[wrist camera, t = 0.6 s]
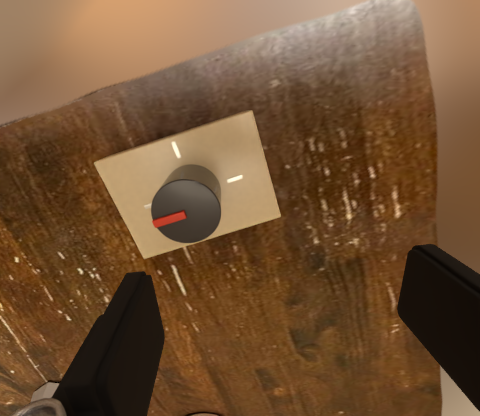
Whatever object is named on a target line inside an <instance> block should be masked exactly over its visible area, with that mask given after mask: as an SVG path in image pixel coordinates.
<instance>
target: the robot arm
mask: <svg viewBox="0 0 480 416" xmlns="http://www.w3.org/2000/svg"><path fill="white" fill-rule="evenodd" d="M397 310H398V314H399V316H400V318H401V319H402V321H403V322H404V323H405V324H406V325H407V326H408V328H409V329H410V330H411V331H412V332H413V334H414V335H415V336H416V337H417V338H418V339H419V341H420V342H421V343H422V344H423V345H424V347H425V348H426V349H427V350H428V351H429V352H430V354H431V355H432V356H433V357H434V358H435V360H436V361H437V362H438V363H439V364H440V365H441V367H442V368H443V369H444V370H445V371H446V373H447V374H448V375H449V376H450V377H451V379H453V381H454V382H455V383H456V384H457V386H458V387H459V388H460V389H461V390H462V392H463V393H464V394H465V395H466V396H467V397H468V399H469V400H470V401H471V402H472V403H473V405H474V406H475V407H476V408H477V409H478V410H479V411H480V274H478V273H477V272H475V271H474V270H472V269H471V268H469V267H468V266H466V265H464V264H463V263H461V262H460V261H458V260H457V259H455V258H454V257H452V256H451V255H449V254H447V253H446V252H445V251H443V250H442V249H440V248H438V247H437V246H435V245H433V244H427V245H416V246H414V247H413V248H412V250H410V251H409V252H408V256H407V261H406V266H405V271H404V276H403V282H402V287H401V292H400V297H399V302H398V307H397ZM163 345H164V329H163V325H162V321H161V316H160V312H159V307H158V303H157V299H156V294H155V290H154V285H153V281H152V277H151V275H146V273H145V272H144V271H142V272H132V273H127V274H126V275H125V277H124V279H123V280H122V282H121V284H120V286H119V287H118V289H117V291H116V293H115V295H114V296H113V298H112V300H111V302H110V304H109V305H108V307H107V309H106V311H105V312H104V314H103V315H101V316H99V317H98V319H97V320H96V321H95V323H94V325H93V327H92V328H91V330H90V332H89V334H88V335H87V337H86V339H85V340H84V342H83V344H82V346H81V347H80V349H79V351H78V353H77V354H76V356H75V358H74V359H73V361H72V363H71V365H70V366H69V368H68V370H67V372H66V373H65V375H64V377H63V378H62V380H61V382H60V384H59V385H58V387H57V389H56V391H55V392H54V394H53V396H52V397H51V398H43V399H40V400H36V401H33V402H31V403H29V404H27V405H25V406H23V407H21V408H20V409H18V410H17V411H16V412H14V413H13V414H12V415H10V416H147V413H148V408H149V404H150V400H151V396H152V392H153V387H154V383H155V379H156V375H157V371H158V366H159V362H160V358H161V354H162V350H163Z"/></svg>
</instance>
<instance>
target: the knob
mask: <svg viewBox="0 0 480 416" xmlns="http://www.w3.org/2000/svg"><path fill="white" fill-rule="evenodd" d="M151 215H152V219H153V221H152V223H153V225H154V227H155V228H157V229H158V230H159V231H160V232H161V233H162V234H163V235H164V236H166V237H167V238H169V239H171V240H173V241H176V242H180V243H195V242H199V241H202V240H204V239H206V238H207V237H209V236H210V235H211V234H212V233H213V232H214V231H215V230H216V228H217V227H218V225H219V223H220V219H221V187H220V183H219V181H218V179H217V177H216V176H215V175H214V174H213V173H212V172H211V171H210V170H208V169H207V168H205V167H203V166H200V165H194V164H189V165H184V166H181V167H178V168H177V169H175V170H174V171H173V172H172V173H171V174H170V175H169V176H168V178H167V179H166V180H165V182H164V183H163V184H162V186H161V187H160V189H159V190H158V191H157V193H156V194H155V196H154V198H153V200H152V204H151Z"/></svg>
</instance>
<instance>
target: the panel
mask: <svg viewBox="0 0 480 416" xmlns="http://www.w3.org/2000/svg"><path fill="white" fill-rule="evenodd" d="M189 164H194V165H200V166H203V167H205V168H207V169H208V170H210V171H211V172H212V173H213V174H214V175H215V176H216V177H217V179H218V181H219V183H220V187H221V219H220V223H219V225H218V227H217V228H216V230H215V231H214V232H213V233H212V234H211V235H210V236H209V237H207V238H206V239H204V240H208V239H211V238H214V237H217V236H221V235H224V234H227V233H230V232H234V231H237V230H240V229H243V228H247V227H250V226H253V225H256V224H260V223H263V222H266V221H269V220H273V219H276V218H279V217H281V214H280V211H279V207H278V203H277V200H276V196H275V192H274V188H273V185H272V181H271V177H270V174H269V170H268V166H267V163H266V159H265V155H264V151H263V148H262V144H261V140H260V137H259V133H258V129H257V126H256V122H255V118H254V114H253V111H251V110H247V111H243V112H240V113H237V114H234V115H231V116H228V117H225V118H222V119H219V120H216V121H213V122H210V123H207V124H204V125H201V126H198V127H195V128H192V129H189V130H186V131H183V132H180V133H177V134H174V135H171V136H167V137H164V138H161V139H158V140H155V141H152V142H149V143H146V144H143V145H140V146H137V147H134V148H131V149H128V150H125V151H122V152H119V153H116V154H113V155H110V156H107V157H105V158H103V159H100V160H98V161H96V162H94V165H95V167H96V169H97V170H98V172H99V174H100V176H101V178H102V180H103V182H104V184H105V186H106V188H107V190H108V191H109V193H110V195H111V197H112V199H113V201H114V203H115V205H116V207H117V209H118V210H119V212H120V214H121V216H122V218H123V220H124V222H125V224H126V226H127V228H128V230H129V231H130V233H131V235H132V237H133V239H134V241H135V243H136V245H137V247H138V249H139V250H140V252H141V254H142V256H143V258H144V259H146V258H149V257H152V256H156V255H159V254H162V253H165V252H169V251H172V250H175V249H178V248H182V247H185V246H188V245H191V244H195V243H198V242H195V243H180V242H176V241H173V240H171V239H169V238H167V237H166V236H164V235H163V234H162V233H161V232H160V231H159V230H158V229H157V228H155V227H154V225H153V223H152V221H153V219H152V215H151V204H152V200H153V198H154V196H155V194H156V193H157V191H158V190H159V189H160V187H161V186H162V184H163V183H164V182H165V180H166V179H167V178H168V176H169V175H170V174H171V173H172V172H173V171H174V170H175V169H177V168H178V167H181V166H184V165H189ZM204 240H202V241H204ZM199 242H201V241H199Z"/></svg>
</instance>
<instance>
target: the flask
mask: <svg viewBox="0 0 480 416" xmlns="http://www.w3.org/2000/svg"><path fill="white" fill-rule="evenodd" d="M58 385H59V383H50V382H48V383H46V384H45V385H43V386H42V387H41V388H39V389H38V390H36V391H35V392H34V393H33V396H32V400H31V402H33V401H36V400H40V399H43V398H51V397H52V396H53V394H54V392H55V391H56V389H57V387H58Z"/></svg>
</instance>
